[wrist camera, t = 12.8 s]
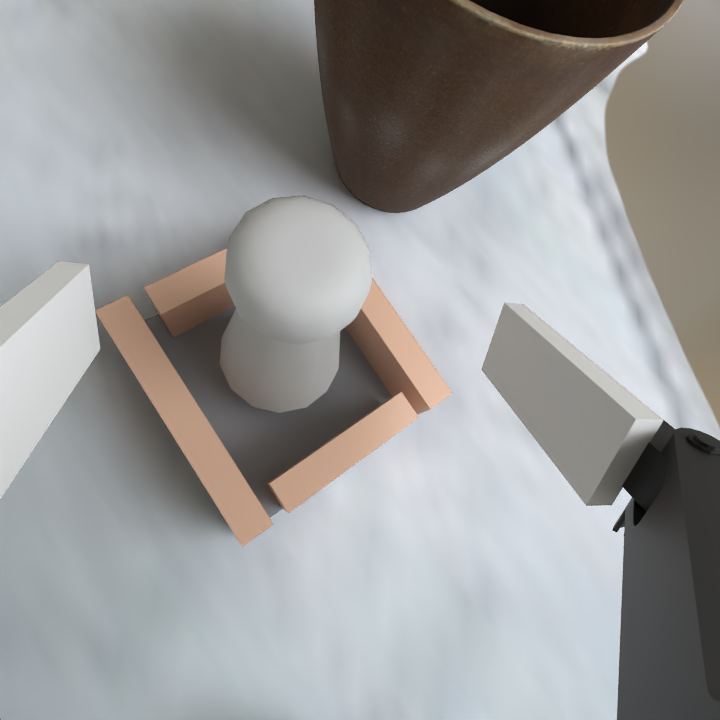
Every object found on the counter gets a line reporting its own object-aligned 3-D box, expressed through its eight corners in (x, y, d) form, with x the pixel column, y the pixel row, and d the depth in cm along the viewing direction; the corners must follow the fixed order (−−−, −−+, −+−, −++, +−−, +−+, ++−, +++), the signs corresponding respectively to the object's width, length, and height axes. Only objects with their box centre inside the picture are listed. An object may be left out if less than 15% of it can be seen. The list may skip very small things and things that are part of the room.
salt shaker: (318, 309, 26) (380, 153, 13) (341, 405, 25) (431, 332, 12) (213, 324, 24) (175, 163, 12) (232, 429, 23) (212, 370, 11)
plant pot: (496, 119, 34) (687, -161, 19) (476, 291, 30) (705, 102, 15) (307, 50, 32) (359, -334, 17) (255, 227, 27) (262, -80, 12)
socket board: (123, 342, 24) (94, 310, 19) (309, 247, 28) (320, 203, 23) (243, 534, 23) (242, 546, 18) (419, 407, 27) (452, 392, 22)
